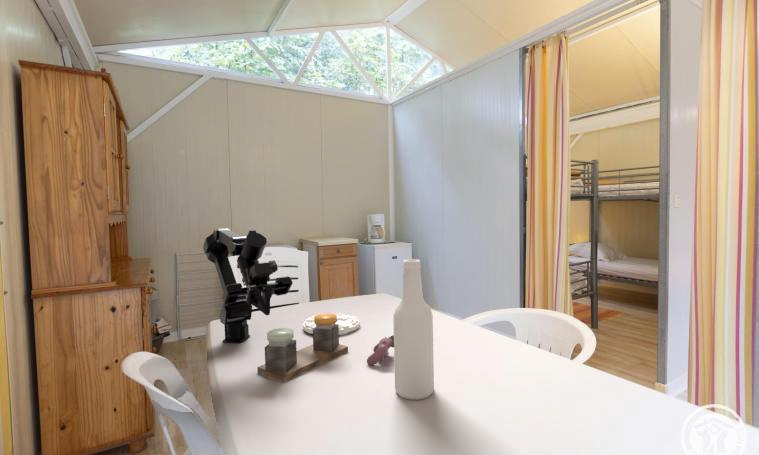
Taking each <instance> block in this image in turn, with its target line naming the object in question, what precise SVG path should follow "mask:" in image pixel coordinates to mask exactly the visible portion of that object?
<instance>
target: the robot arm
mask: <svg viewBox="0 0 759 455" xmlns="http://www.w3.org/2000/svg"><path fill="white" fill-rule="evenodd" d="M212 232H213V233H211V234H210V235H208V236H207V237H205V240H204V242H203V246H202V247H203V248H202V249H203V253H204V254H205V255H206V258H207V260H209V261H210V262H211V263H213V264H214V266H215V270H216V272H217V276H218V279H219V282H220V286H221V288H222V291H223V293H222V295H221V296H222V307H221V310H220V314H219V322H220V323H222V324H223V326H224V339H222V340H221V341H222V343H237V344H239V343H240V344H241V343H243V342H244V341H246V339H248V338H250V337H251V335H250V333H249V324H248V320H249V321H250V320H251V319H252V315H253V314H252V312H253V307H255V308H256V309H257V310H259V311H260V312H262V313H263V314H264V315H265V316H270V315H271V314H270V313H271V299H272V297H273V294H274V295H276V296H283V295H287V294H288V293H289V291H290V290H291V287H292V285H293V283H294V282H293V280H292V278H291V277H290V276H288V275H287V276H279V277H276V279H275V281H274V282H270V279H271V278H270V277H271V275H273V274H274V273H276V272H278V264H277V262H276V261H275V260H269V261H268V262H262V263H260V261H259V259H260V258H262V255H263V253H264V250H265V248H266V245H267V241H268V240H267V238H266V237H265V236H264V235H263V234H261V233H258V232H257V231H256V230H254V229H253V230H248V232H247V234H246V235H239V234H237V233H236V232H234V231H232V230H231V229H230V228H227V227H226V228H216V229H213V231H212ZM229 255H231V256H232V257H236V258H237V259H236V262H237V264H236V268H237V269H239V270H240V273H241V276H242V278H241V282H242V283H244V285H245V287H243V285H242V283H241V282H240V283H237V280H236V277H235V274H234V271H233V268H232V265H231V262H230V259H229ZM268 282H270V283H268Z"/></svg>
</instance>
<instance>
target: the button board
mask: <svg viewBox="0 0 759 455" xmlns="http://www.w3.org/2000/svg"><path fill="white" fill-rule="evenodd" d="M339 338H340V335H339V326H338V324H335V327H334V328H333V329H332V330H321V329H316V327H315V328H314V329H313V334H312V344H311V345H308V346H305V347H303V348H300V349H298V350H297V339H292V342H291V343H290V344H289V345H288V346H287V347H269V343H268V344H267V345H265V347H264V362H265V363H264V364H262V365H258V366H257V373H258V374H260V375H263V376H265V377H267V378H270V379H274V380H275V381H278V382H280V383H285V382H286V381H288V380H290V379H293V378H296V377H297V376H299V375H302V374H303V373H305V372H308V371H310V370H312V369H314V368H315V367H316V368H317V367H318V366H320V365H322V364H324V363H327V362H329V361H330V360H333V359H335V358H337V357H339V356H342V355H344V354H346V353H348V352H349V346H347V345H344V344H340V339H339Z"/></svg>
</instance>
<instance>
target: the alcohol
mask: <svg viewBox="0 0 759 455" xmlns="http://www.w3.org/2000/svg"><path fill="white" fill-rule="evenodd" d="M421 262H422V261H421V260H420V259H417V258H405V259H404V260H403V261H402V263H403V265H402V268H403V271H402V272H403V273H402V274H403V275H402V292H401V293H402V294H401V300H400V301H399V302H398V304H397V305H396V307H395V308H394V311H393V312H394V313H393V322H392V323H393V335H394V347H393V350H394V351H393V353H394V354H393V355H394V357H393V358H394V363H393V364H394V389H395V391H396V394H398V396H400V397H401V398H403V399H406V400H409V401H420V400H422V401H423V400H425V399H428V398H429V397H431V396H432V394H433V392H434V390H435V375H434V374H435V372H434V371H435V370H434V369H435V368H434V362H435V361H434V318H433V312H432V309H431V307H430V305H429V304H428V303H427V302H426V301H425V298H424V294H423V282H422V273H421V271H422V270H421V268H422V266H421Z"/></svg>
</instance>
